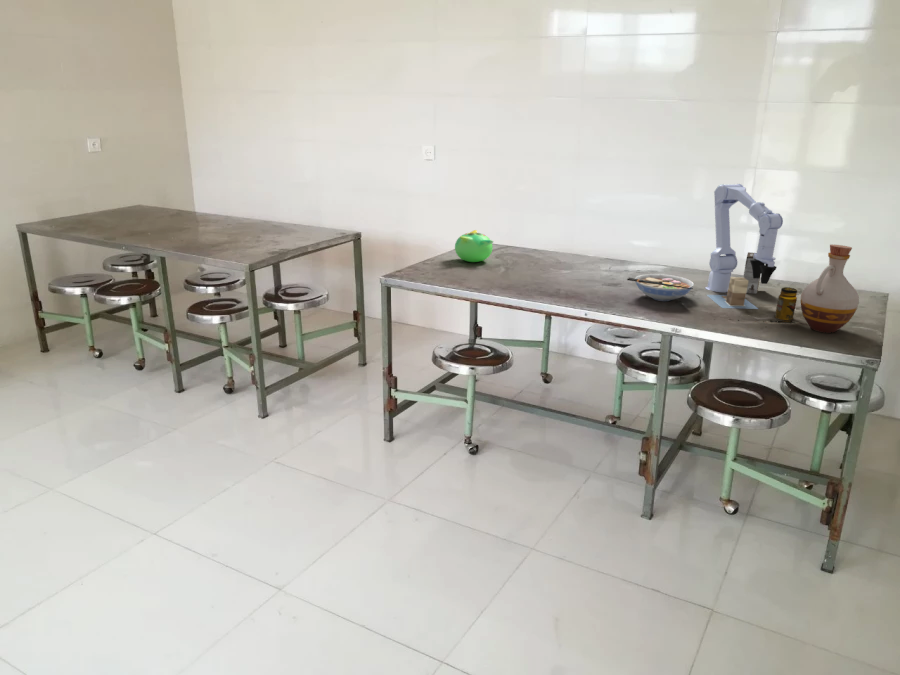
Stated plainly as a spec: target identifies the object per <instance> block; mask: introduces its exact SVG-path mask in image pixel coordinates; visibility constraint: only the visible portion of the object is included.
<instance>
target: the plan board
mask: <svg viewBox="0 0 900 675" xmlns="http://www.w3.org/2000/svg"><path fill="white" fill-rule="evenodd" d="M706 296H707V297H708V298H710V299H711V300H712V301H713V302H714V303H715V304H716V305H718V306H719V307H720V308H721V309H748V310H749V309H750V310H759V308H758V307H757V306H756V305H754V304H753V303H752V302H750V301H749V300H748V299H746V298H745V301H744V306H735V305H729V304H728V303H727V302H726V298H727V294H725V295H724V294H706Z"/></svg>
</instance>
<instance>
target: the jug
mask: <svg viewBox="0 0 900 675" xmlns="http://www.w3.org/2000/svg"><path fill="white" fill-rule="evenodd" d="M852 249H853V246H852V247H851V246H848V245H842V244H831V243H830V244H829V252H828V254H827V255H828V260H829V261H828V266H826V267H825V268H824V269H823V270H822V272H821V273H820V275H819V277H818V278H817V279H814V280H812V281H811V282H810V283H808V284H807V285H806V286H805V287H804V288H803V289H802V291H801V293H800V294H801V295H800V309H801V314H802V316H803V319H804V320H805V321H806V323H807V324H808V326H809V327H810V329H811V330H814V331H816V332H820V333H825V332H826V333H827V334H831V332H832V333H835V332H837V331H839V330H840V329H841V328H842V327H844V326H845V325H846V324H848V323H849V322H850V320H851V319H852V318H853V316H854V314H856V311H857V309H858V306H859V303H860V296H859V293H858V291H857V290H856V288H855V287H854V286H853V285H852V284H851V283H850V281H849V280H848V279H847V277H846V276H845V275H844V270H845V266H846V264H847V261H848V260H849V259H850V257H851V255H850V253H851V251H852Z"/></svg>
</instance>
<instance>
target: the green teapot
mask: <svg viewBox="0 0 900 675" xmlns="http://www.w3.org/2000/svg"><path fill="white" fill-rule="evenodd" d="M493 243H494V240H492V239H490V237H488V236H487V235H485V234H484V233H480V232H478V230H477V229H475V230H472V231H470V232H467V233H464V234H462V235H460V236H459V237H458V238H457V239H456V241H455V244H454V251H455V253H456V256H458V257H459V259H461V260H463V261H465V262H469V263H479V262H482V261H486V260H487V259H488V258H489V257H490V256H491V255H492V252H493V250H494V249H493Z"/></svg>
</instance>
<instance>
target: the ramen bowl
mask: <svg viewBox="0 0 900 675" xmlns="http://www.w3.org/2000/svg"><path fill="white" fill-rule="evenodd" d="M626 280H627V281H631V282H635V284H636V286H637V287H638V289H639V291H640V292H641V293H643V295H645V296H647V297H649V298H651V299H653V300H655V301H658V302H659V301H660V302H669V301H670V302H671V301H673V300H677V299H680V298H683V297H684V296H686V295H687V294H688V293H690V291H691V290H693V289H694V285H695V284H694V282H693V281H692V280H690V279H688V278H685V277H682V276H677V275H673V274H672V275H671V274H661V273H649V274H648V273H647V274H641V275H640V274H639V275H637V276H635V278H633V277H628V278H627V279H626Z"/></svg>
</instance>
